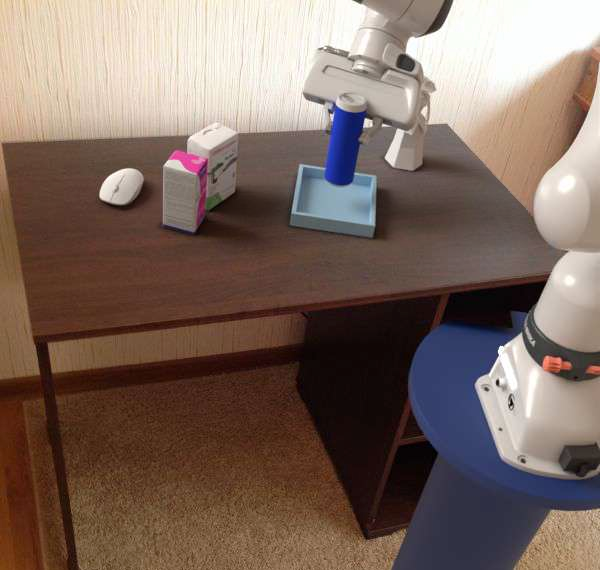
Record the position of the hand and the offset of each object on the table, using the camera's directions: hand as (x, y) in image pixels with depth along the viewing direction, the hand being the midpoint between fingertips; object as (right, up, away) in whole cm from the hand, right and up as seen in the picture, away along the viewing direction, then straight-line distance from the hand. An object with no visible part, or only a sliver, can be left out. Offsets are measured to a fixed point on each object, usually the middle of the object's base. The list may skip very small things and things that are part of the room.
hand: (344, 138), depth 126 cm
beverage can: (-1, -5, +7) cm, 9 cm away
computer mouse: (-39, -8, +5) cm, 40 cm away
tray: (-1, -9, +10) cm, 13 cm away
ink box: (-23, -8, +8) cm, 26 cm away
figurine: (+13, +4, +24) cm, 28 cm away
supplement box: (-27, -14, +2) cm, 31 cm away
